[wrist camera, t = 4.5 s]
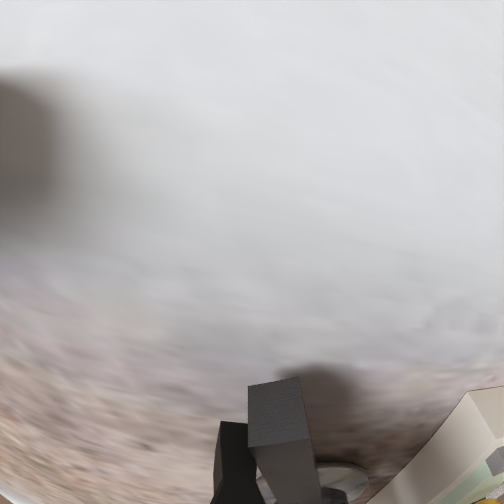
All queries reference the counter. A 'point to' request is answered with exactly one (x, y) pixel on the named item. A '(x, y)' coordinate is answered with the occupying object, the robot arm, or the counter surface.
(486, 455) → the level stand
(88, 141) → the counter surface
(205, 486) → the counter surface
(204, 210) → the counter surface
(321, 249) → the counter surface
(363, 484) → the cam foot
